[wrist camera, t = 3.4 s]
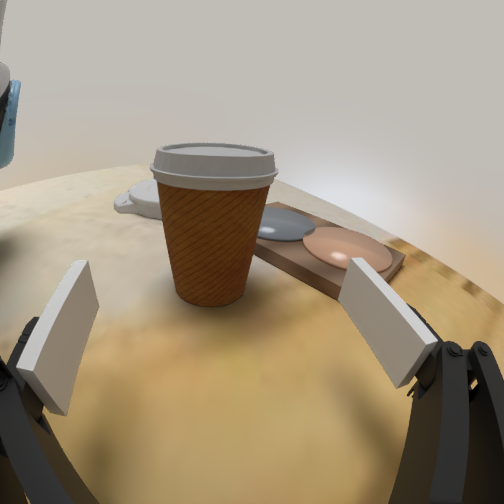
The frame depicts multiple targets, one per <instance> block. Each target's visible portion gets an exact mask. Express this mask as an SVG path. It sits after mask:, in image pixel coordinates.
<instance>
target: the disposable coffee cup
mask: <svg viewBox="0 0 504 504" xmlns="http://www.w3.org/2000/svg"><path fill="white" fill-rule="evenodd" d="M150 169H151V171H152V172H153V174H154V179H155V180H156V181H157V188H158V195H159V202H160V209H161V215H162V221H163V227H164V233H165V238H166V244H167V248H168V254H169V259H170V264H171V269H172V274H173V279H174V283H175V288H176V291H177V293H178V294H179V296H180V297H181V298H183V299H184V300H186V301H188V302H190V303H192V304H195V305H199V306H209V307H214V306H222V305H226V304H229V303H232V302H234V301H236V300H237V299H238V298H239V297H240V296H241V295H242V294H243V292H244V289H245V284H246V280H247V277H248V273H249V269H250V265H251V261H252V256H253V252H254V248H255V244H256V240H257V236H258V232H259V228H260V224H261V219H262V215H263V211H264V207H265V203H266V199H267V195H268V191H269V188H270V185H271V184H272V183H273V181H274V177H275V176H276V175H277V174H278V169H277V168H276V167H275V162H274V154H273V152H271V151H269V150H266V149H262V148H257V147H251V146H244V145H236V144H224V143H181V144H171V145H165V146H161V147H159V148H157V151H156V155H155V159H154V163H152V164H151V165H150Z"/></svg>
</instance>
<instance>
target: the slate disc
mask: <svg viewBox="0 0 504 504" xmlns="http://www.w3.org/2000/svg"><path fill="white" fill-rule="evenodd" d="M315 228H316V226H315V224H314V222H313V221H312V220H310V219H309V218H307V217H306V216H304V215H301V214H299V213H296V212H293V211H290V210H286V209H281V208H275V207H264V211H263V215H262V219H261V224H260V228H259V232H258V236H257V238H259V239H263V240H268V241H276V242H296V241H302V240H303V237H306V234H307V236H308V234H309V231H310V234H312V233H314V232H313V230H314V231H315ZM311 229H312V230H311ZM311 231H312V232H311ZM306 232H307V233H306ZM305 233H306V234H305ZM304 235H305V236H304Z"/></svg>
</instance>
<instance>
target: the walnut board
mask: <svg viewBox="0 0 504 504" xmlns="http://www.w3.org/2000/svg"><path fill="white" fill-rule="evenodd" d="M265 207H275V208H281V209H286V210H290V211H293V212H296V213H299V214H301V215H304V216H306V217H307V218H309V219H310V220H312V221H313V222H314V224H315V226H316V228H318V227H337V228H343V229H346V228H344V227H341V226H339V225H336V224H334V223H331V222H329V221H326V220H324V219H321V218H319V217H316V216H314V215H311V214H309V213H306V212H304V211H301V210H298V209H296V208H293V207H290V206H288V205H285V204H282V203H280V202H275V203H270V204H265ZM302 241H303V240H302ZM302 241H296V242H276V241H268V240H263V239H259V238H257V240H256V244H255V248H254V252H253V254H254V255H256V256H258V257H260V258H262V259H263V260H265V261H267V262H269V263H271V264H272V265H274V266H276V267H278V268H280V269H281V270H283V271H285V272H287V273H289V274H290V275H292V276H294V277H296V278H298V279H300V280H301V281H303V282H305V283H307V284H309V285H310V286H312V287H314V288H316V289H318V290H319V291H321V292H323V293H325V294H327V295H328V296H330V297H332V298H334V299H336V300H337V301H338V297H339V294H340V291H341V288H342V285H343V281H344V278H345V275H346V271H345V270H341V269H338V268H335V267H333V266H330V265H328V264H326V263H324V262H322V261H320V260H318V259H317V258H315V257H314V256H312V255H311V254H310V253H309V252H308V251H307V250H306V249H305V247H304V245H303V242H302ZM382 245H383V244H382ZM384 246H385V247H386V248H387V249H388V250H389V252H390V253H391V255H392V263H391V266H390V267H389V269H387V270H386V271H384V272H381V273H378V274H379V275H380V276H381V277H382V278H383V279H384V281H385V282H386V283H388V282H389V280H390V279H391V278H392V277H393V276H394V274H395V273H396V272H397V271H398V269H399V268H400V267H401V266H402V264H403V261H404V258H405V256H406V255H405V254H403V253H401V252H399V251H397V250H395V249H392V248H390V247H388V246H386V245H384Z"/></svg>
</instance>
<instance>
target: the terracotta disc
mask: <svg viewBox="0 0 504 504" xmlns="http://www.w3.org/2000/svg"><path fill="white" fill-rule="evenodd" d="M311 230H312V229H311ZM311 232H312V231H311ZM313 232H314V233H312V234H310V231H309V234H308V236H307V234H306V233H307V232H306V233H305V234H306V237H303V241H302V242H303V245H304V247H305V249H306V250H307V251H308V252H309V253H310V254H311V255H312V256H314V257H315V258H317V259H318V260H320V261H322V262H324V263H326V264H328V265H330V266H333V267H335V268H338V269H341V270H345V271H347V268H348V264H349V261H350V258H361V257H362V258H363V259H364V260H365V261H366V262H367V263H368V264H369V265H370V266H371V267H372V268H373V269H374V270H375V271H376V272H377V273H381V272H384V271H386V270H387V269H389V267H390V266H391V263H392V255H391V253H390V252H389V250H388V249H387V248H386V247H385V246H384V245H382V244H381V243H379V242H378V241H376V240H375V239H373V238H371V237H369V236H366V235H364V234H361V233H359V232H355V231H352V230H348V229H343V228H337V227H318V228H315V231H314V230H313ZM304 236H305V235H304Z"/></svg>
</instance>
